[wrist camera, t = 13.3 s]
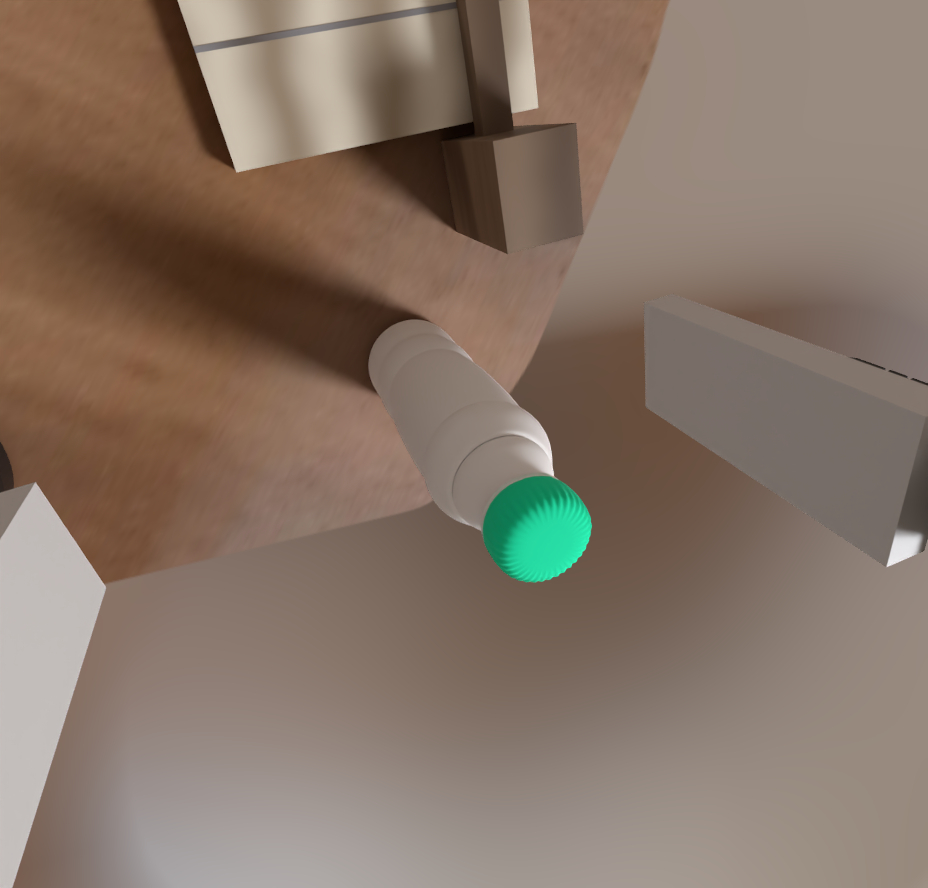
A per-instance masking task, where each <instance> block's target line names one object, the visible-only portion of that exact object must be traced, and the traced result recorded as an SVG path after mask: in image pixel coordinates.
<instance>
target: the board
mask: <svg viewBox="0 0 928 888" xmlns="http://www.w3.org/2000/svg"><path fill="white" fill-rule="evenodd" d="M178 3H179V6H180V9H181V12H182V15H183V18H184V21H185V24H186V27H187V30H188V33H189V35H190V38H191V41H192V44H193V47H194V50H195V53H196V56H197V59H198V62H199V65H200V68H201V71H202V73H203V76H204V79H205V82H206V85H207V88H208V91H209V94H210V97H211V100H212V103H213V106H214V108H215V111H216V114H217V117H218V120H219V123H220V126H221V129H222V132H223V135H224V138H225V141H226V144H227V146H228V149H229V152H230V155H231V158H232V161H233V164H234V167H235V170H236V172H240V171H245V170H250V169H254V168H259V167H264V166H268V165H273V164H278V163H283V162H287V161H292V160H297V159H301V158H306V157H311V156H315V155H320V154H325V153H329V152H334V151H339V150H343V149H348V148H353V147H357V146H362V145H367V144H371V143H376V142H381V141H385V140H390V139H395V138H399V137H404V136H409V135H413V134H418V133H423V132H428V131H432V130H437V129H442V128H446V127H451V126H456V125H460V124H465V123H470V122H473V115H472V108H471V101H470V94H469V87H468V81H467V74H466V67H465V60H464V53H463V46H462V39H461V32H460V25H459V19H458V12H457V5H456V0H178ZM499 6H500V15H501V24H502V33H503V41H504V50H505V59H506V67H507V76H508V85H509V94H510V102H511V111H512V113H516V112H521V111H526V110H530V109H535V108H538V100H537V89H536V79H535V68H534V57H533V47H532V36H531V26H530V15H529V5H528V0H499Z"/></svg>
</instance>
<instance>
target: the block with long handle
mask: <svg viewBox="0 0 928 888" xmlns="http://www.w3.org/2000/svg"><path fill="white" fill-rule="evenodd" d="M456 5H457V12H458V19H459V25H460V32H461V39H462V46H463V53H464V60H465V67H466V74H467V81H468V87H469V94H470V101H471V108H472V115H473V122H474V129H475V134H471V135H466V136H462V137H457V138H453V139H448V140H443V141H441V146H442V152H443V158H444V164H445V169H446V175H447V181H448V187H449V192H450V198H451V204H452V210H453V215H454V221H455V227H456V232H458V233H461V234H463V235H465V236H468V237H470V238H472V239H474V240H477V241H479V242H481V243H484V244H486V245H488V246H490V247H493V248H495V249H497V250H500V251H502V252H504V253H506V254H510V253H514V252H517V251H521V250H525V249H529V248H533V247H536V246H540V245H544V244H548V243H552V242H555V241H559V240H563V239H567V238H571V237H575V236H578V235H582V234H583V220H582V205H581V189H580V174H579V159H578V144H577V129H576V123H566V124H547V125H527V126H513V120H512V111H511V102H510V94H509V85H508V76H507V67H506V59H505V50H504V41H503V33H502V24H501V15H500V6H499V0H456Z"/></svg>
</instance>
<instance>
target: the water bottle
mask: <svg viewBox="0 0 928 888" xmlns="http://www.w3.org/2000/svg"><path fill="white" fill-rule="evenodd" d="M368 368H369V375H370V379H371V381H372V384H373V386H374V388H375V390H376V391H377V393H378V395H379V396H380V397H381V399H382V402H383V404H384V406H385V408H386V410H387V412H388V413H389V415H390V416H391V418H392V419H393V420H394V422H395V425H396V427H397V430H398V432H399V434H400V436H401V439H402V441H403V443H404V445H405V447H406V449H407V450H408V452H409V454H410V456H411V458H412V459H413V461H414V463H415V465H416V466H417V468H418V469H419V471H420V472H421V474H422V475H423V477H424V478H425V483H426V486H427V489H428V491H429V493H430V495H431V497H432V499H433V500H434V502H435V503H436V504H437V505H438V507H439V508H440V509H441V510H443V511H444V512H445V513H446V514H447V515H448V516H450V517H451V518H453V519H455V520H457V521H459V522H461V523H464V524H467V525H470V526H473V527H475V528H476V529H479V530H481V531H482V536H483V538H484V543H485V546H486V548H487V550H488V552H489V553H490V555H491V557H492V558H493V560H494V561H495V563H496V564H497V565H498V566H499V567H500V568H501V569H502V571H503V572H505V573H506V574H508V575H509V576H510V577H512V578H516V579H517V580H519V581H522V580H523V581H525V582H529V581H531V582H537V581H541V582H542V581H544V580H545V579H546V580H550V579H551V578H552V577H557V576H558V575H559V574H560V573H564V572H565V571H566V569H567V568H570V567H571V566H572V563H575V562H576V561H577V559H578V557H580V556H581V555H582V552H583V551H584V550H585V549H586V544H587V543H588V542H589V537H590V535H591V531H590V529H591V527H592V524H591V517H590V515H589V513H588V510H587V508H586V506H585V505H584V504H583V502H582V500H581V499H580V498H579V496H578V495H577V494H576V493H575V492H574V491H573V490H572V489H570V487H568V486H567V485H566V484H565V483H563V482H561V481H560V480H558V479H557V478H555V477H554V472H553V467H552V452H551V447H550V443H549V440H548V437H547V435H546V433H545V431H544V429H543V428H542V426H541V425H540V424H539V422H538V421H537V420H536V419H535V418H534V417H533V416H532V415H531V414H530V413H528V412H527V411H525V410H524V409H522V408H521V407H519V406H518V404H517V403H516V402H515V401H514V400H513V398H512V397H511V396H510V395H509V394H508V393H507V392H506V391H505V390H504V389H503V388H502V387H501V386H500V385H499V384H498V383H497V382H496V381H495V380H494V379H493V378H492V377H491V376H490V375H489V374H488V373H487V372H486V371H484V370H483V369H482V368H481V367H480V366H478V365H477V364H476V363H474V362H473V361H472V359H471V358H470V356H469V355H468V354H467V353H466V352H465V351H464V350H463V349H462V348H461V347H460V346H459V345H457V344H456V343H455V342H454V341H453V339H452V338H451V337H450V336H449V335H448V334H447V333H446V332H445V331H444V330H443V329H441V328H440V327H438V326H437V325H435V324H433V323H431V322H428V321H424V320H405V321H402V322H399V323H396V324H394V325H392V326H390V327H389V328H388V329H386V330H385V331H384V332H383V333H382V334H381V335H380V336H379V337H378V338H377V340H376V341H375V343H374V345H373V347H372V349H371V352H370V356H369V364H368Z"/></svg>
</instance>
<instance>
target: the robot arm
mask: <svg viewBox="0 0 928 888" xmlns="http://www.w3.org/2000/svg"><path fill="white" fill-rule="evenodd" d="M644 324H645V325H644V327H645V382H646V383H645V387H646V407H647V408H648V409H650V410H651V411H653V412H654V413H656V414H657V415H659V416H660V417H662V418H663V419H665V420H666V421H668V422H669V423H671V424H672V425H674V426H675V427H677V428H678V429H680V430H681V431H683V432H684V433H686V434H687V435H689V436H690V437H692V438H693V439H695V440H696V441H698V442H699V443H701V444H702V445H704V446H705V447H707V448H708V449H710V450H711V451H713V452H714V453H716V454H717V455H719V456H720V457H722V458H723V459H725V460H726V461H728V462H729V463H731V464H732V465H734V466H735V467H737V468H738V469H740V470H741V471H743V472H744V473H746V474H747V475H749V476H750V477H752V478H753V479H755V480H756V481H758V482H759V483H761V484H762V485H764V486H765V487H767V488H768V489H770V490H771V491H773V492H775V493H776V494H777V495H779V496H780V497H782V498H784V499H785V500H786V501H788V502H789V503H791V504H792V505H794V506H795V507H797V508H798V509H800V510H801V511H803V512H804V513H806V514H807V515H809V516H810V517H812V518H813V519H815V520H816V521H818V522H819V523H821V524H822V525H824V526H825V527H827V528H829V529H830V530H831V531H833V532H834V533H836V534H837V535H839V536H840V537H842V538H844V539H845V540H846V541H848V542H849V543H851V544H852V545H854V546H855V547H857V548H858V549H860V550H861V551H863V552H864V553H866V554H867V555H869V556H870V557H872V558H873V559H875V560H876V561H878V562H879V563H881V564H882V565H884V566H885V567H888V566H890V565H893V564H895V563H897V562H900V561H902V560H904V559H906V558H908V557H911V556H913V555H916V554H918V553H920V552H923V551H924V549H925V546H926V542H927V539H928V383H925V382H922V381H919V380H917V379H914V378H912V379H908V378H907V376H906V375H903V374H900V373H897V372H894V371H891V370H889V371H886V370H885V368H883V367H880V366H878V365H875V364H872V363H869V362H866V361H864V360H861V359H858V358H851V357H846V356H844V355H841V354H838V353H835V352H833V351H830V350H827V349H824V348H821V347H819V346H816V345H813V344H810V343H808V342H805V341H802V340H799V339H796V338H793V337H791V336H788V335H785V334H782V333H780V332H777V331H774V330H771V329H768V328H766V327H763V326H760V325H757V324H755V323H752V322H749V321H746V320H743V319H741V318H738V317H735V316H732V315H730V314H727V313H724V312H721V311H718V310H716V309H713V308H710V307H707V306H704V305H702V304H699V303H696V302H693V301H690V300H688V299H685V298H682V297H679V296H677V295H674V294H671V295H668V296H665V297H661V298H658V299H655V300H651V301H647V302H644ZM105 590H106V587H105V585H104V584H103V582H102V581H101V579H100V578H99V576H98V575H97V573H96V572H95V570H94V569H93V567H92V566H91V564H90V563H89V561H88V560H87V558H86V557H85V555H84V554H83V552H82V551H81V549H80V548H79V546H78V545H77V543H76V542H75V540H74V539H73V537H72V536H71V534H70V533H69V531H68V530H67V528H66V527H65V526H64V524H63V523H62V521H61V520H60V518H59V517H58V515H57V514H56V512H55V511H54V509H53V508H52V506H51V505H50V503H49V502H48V500H47V499H46V497H45V496H44V494H43V493H42V491H41V490H40V488H39V487H38V485H37V484H36V482H35V483H31V484H28V485H24V486H21V487H18V488H14V482H13V473H12V468H11V465H10V461H9V459H8V456H7V454H6V452H5V450H4V448H3V446H2V444H1V443H0V888H12V887H13V884H14V880H15V878H16V874H17V871H18V868H19V865H20V862H21V858H22V855H23V852H24V849H25V845H26V842H27V839H28V836H29V833H30V830H31V826H32V823H33V820H34V817H35V814H36V810H37V807H38V804H39V801H40V798H41V794H42V791H43V788H44V785H45V782H46V778H47V775H48V772H49V769H50V766H51V762H52V759H53V756H54V753H55V750H56V746H57V743H58V740H59V737H60V734H61V730H62V727H63V724H64V721H65V717H66V714H67V711H68V708H69V705H70V702H71V698H72V695H73V692H74V689H75V686H76V683H77V679H78V676H79V673H80V670H81V667H82V663H83V660H84V657H85V653H86V651H87V647H88V644H89V641H90V638H91V635H92V631H93V628H94V625H95V622H96V618H97V615H98V612H99V609H100V605H101V603H102V599H103V596H104V593H105Z"/></svg>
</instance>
